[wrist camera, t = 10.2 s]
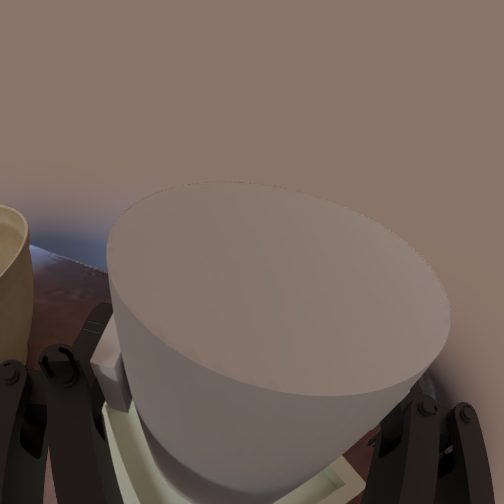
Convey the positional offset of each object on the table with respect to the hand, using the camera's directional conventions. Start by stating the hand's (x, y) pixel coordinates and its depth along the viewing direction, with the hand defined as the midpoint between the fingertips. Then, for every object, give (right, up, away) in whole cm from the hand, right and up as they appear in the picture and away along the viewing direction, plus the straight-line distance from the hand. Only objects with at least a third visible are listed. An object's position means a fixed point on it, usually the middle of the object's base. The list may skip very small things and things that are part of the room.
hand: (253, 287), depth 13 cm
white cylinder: (-1, -9, 0) cm, 9 cm away
